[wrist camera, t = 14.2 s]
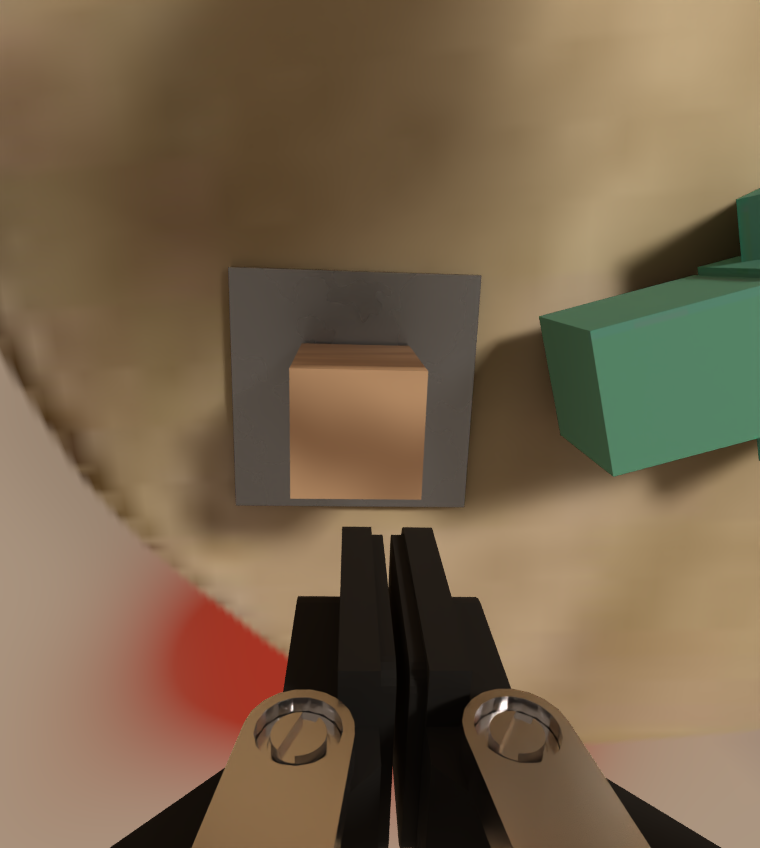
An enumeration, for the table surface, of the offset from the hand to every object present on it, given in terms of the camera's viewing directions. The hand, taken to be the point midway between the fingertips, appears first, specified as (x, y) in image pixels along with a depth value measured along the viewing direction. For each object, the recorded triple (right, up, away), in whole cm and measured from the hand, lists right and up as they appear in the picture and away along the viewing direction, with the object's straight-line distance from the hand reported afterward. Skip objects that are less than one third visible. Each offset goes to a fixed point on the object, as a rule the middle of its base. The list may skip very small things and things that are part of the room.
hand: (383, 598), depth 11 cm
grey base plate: (-1, +5, +20) cm, 20 cm away
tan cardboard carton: (-1, +5, +19) cm, 19 cm away
